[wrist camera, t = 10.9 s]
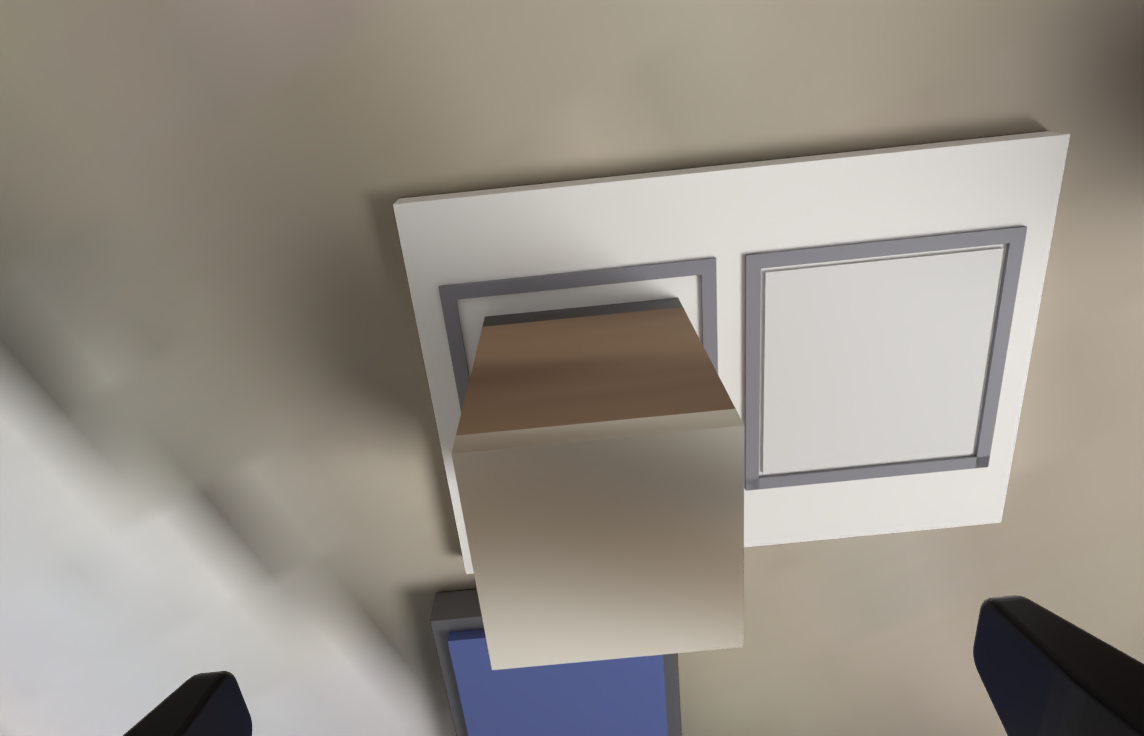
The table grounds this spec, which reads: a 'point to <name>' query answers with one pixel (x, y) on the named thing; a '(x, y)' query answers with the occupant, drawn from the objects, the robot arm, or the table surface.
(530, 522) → the beige block
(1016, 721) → the robot arm
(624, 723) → the ink pad
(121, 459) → the table surface
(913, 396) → the sheet
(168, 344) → the table surface
